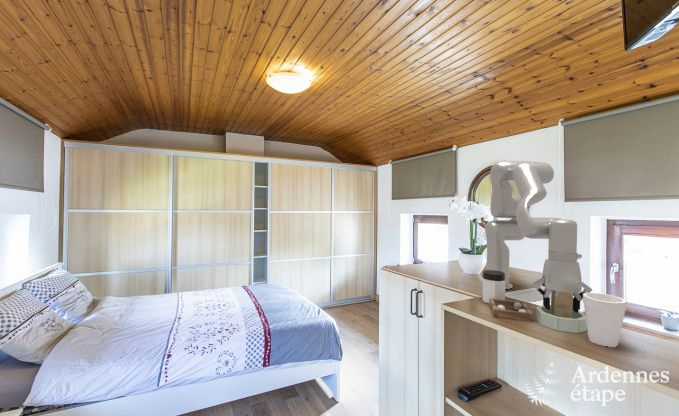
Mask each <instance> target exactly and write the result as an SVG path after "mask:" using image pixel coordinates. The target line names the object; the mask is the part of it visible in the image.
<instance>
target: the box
mask: <svg viewBox="0 0 679 416" xmlns="http://www.w3.org/2000/svg"><path fill="white" fill-rule="evenodd" d="M550 296H551V297H550V305H551V312H550V314H551V315H554V316H557V317H564V318H572V311H573V298H574V296H573V292H566V291H552V292H551V294H550Z"/></svg>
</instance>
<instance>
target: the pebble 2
mask: <svg viewBox="0 0 679 416" xmlns="http://www.w3.org/2000/svg"><path fill="white" fill-rule="evenodd" d="M519 302H520V301H517V302H516V303H514V305H513V307H514V311H518V310H520V309H522V308H523V306H522V304H521V303H519Z"/></svg>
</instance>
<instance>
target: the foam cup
mask: <svg viewBox="0 0 679 416" xmlns="http://www.w3.org/2000/svg"><path fill="white" fill-rule="evenodd" d="M582 303H583V306H584V307H583V308H584V314H585V316H586V323H587V336H588V340H589V341H590V342H591V343H593V344H595V343H596V345H598V346H601V345H602V346H601V347H605V346H608V347H607V348H616V346H617V347H618V345H619V341H620V337H621V332H622V328H623V324H624V323H623V322H624V317H625V314H626V311H627V306H628V305H627V300H626V299H624V298H622V297H620V296H615V295H612V294H609V293H607V294H606V293H601V292H590V293H584V294H583V299H582Z"/></svg>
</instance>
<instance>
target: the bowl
mask: <svg viewBox="0 0 679 416" xmlns="http://www.w3.org/2000/svg"><path fill="white" fill-rule="evenodd" d="M550 312H551V304H550V310H547V309H546V308H545V306H543V304H542V305H538V306H536V307H535V319H536V321H537V323H539V324H540V325H541V326H544V327H546V328H549V329H552V330H554V331H558V332H566V333H574V334H580V333H583V332H586V331H587V332H588V330H587V323H586V316H585V313H583V312H582V311H580V310H578V313H576V312H574V311H572V318H564V317H557V316H554V315H551V314H550Z"/></svg>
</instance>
